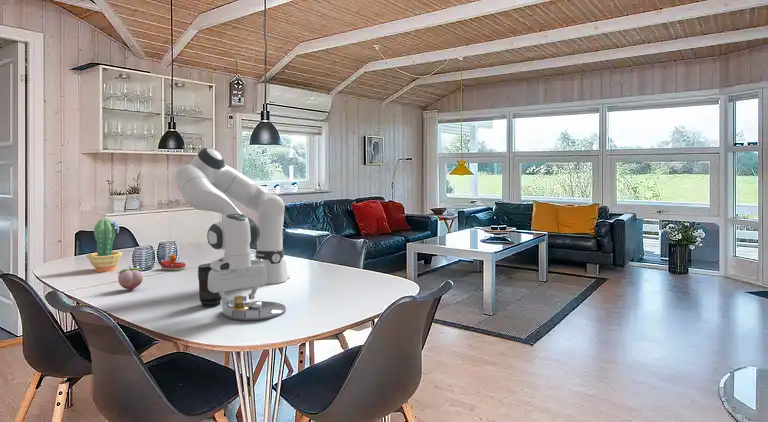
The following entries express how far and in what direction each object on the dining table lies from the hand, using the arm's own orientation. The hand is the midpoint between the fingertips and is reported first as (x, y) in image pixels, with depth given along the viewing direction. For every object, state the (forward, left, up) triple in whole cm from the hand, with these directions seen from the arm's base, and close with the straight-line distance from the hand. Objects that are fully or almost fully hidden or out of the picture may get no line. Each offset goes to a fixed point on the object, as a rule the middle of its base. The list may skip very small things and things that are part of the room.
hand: (238, 301), depth 176 cm
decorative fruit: (-61, -21, -5) cm, 65 cm away
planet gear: (0, 0, -4) cm, 4 cm away
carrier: (0, +6, -5) cm, 8 cm away
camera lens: (-19, -3, -5) cm, 20 cm away
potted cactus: (-112, -21, -5) cm, 114 cm away
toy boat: (-93, +5, -5) cm, 94 cm away
